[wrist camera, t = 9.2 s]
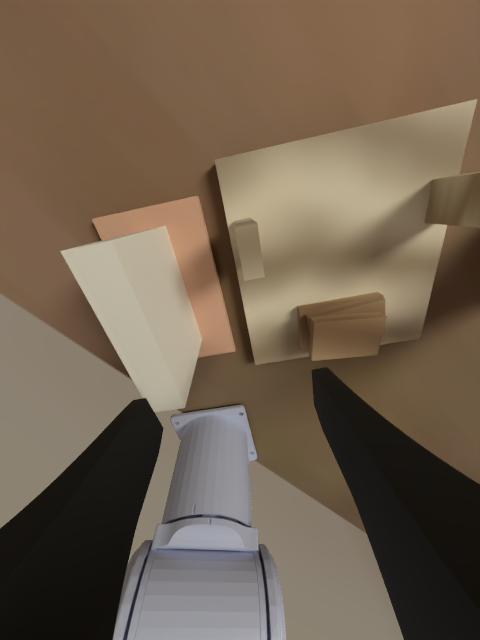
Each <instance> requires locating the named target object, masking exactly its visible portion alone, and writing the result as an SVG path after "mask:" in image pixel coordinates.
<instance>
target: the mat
mask: <svg viewBox="0 0 480 640" xmlns="http://www.w3.org/2000/svg"><path fill="white" fill-rule="evenodd" d="M92 221H93V223H94V225H95V227H96V229H97V232H98V234H99V236H100V238H101V240H106V239H110V238H114V237H118V236H122V235H126V234H130V233H134V232H138V231H143V230H148V229H152V228H157V227H162V226H166V228H167V232H168V235H169V238H170V241H171V244H172V247H173V250H174V253H175V256H176V260H177V263H178V266H179V269H180V272H181V275H182V278H183V281H184V284H185V288H186V291H187V294H188V297H189V300H190V303H191V306H192V309H193V312H194V316H195V319H196V322H197V325H198V328H199V331H200V334H201V337H202V342H201V346H200V350H199V354H198V357H204V356H210V355H217V354H223V353H229V352H235V344H234V340H233V336H232V332H231V327H230V323H229V319H228V315H227V311H226V307H225V303H224V298H223V294H222V290H221V286H220V282H219V278H218V274H217V269H216V265H215V261H214V257H213V253H212V249H211V245H210V240H209V236H208V232H207V228H206V224H205V220H204V216H203V211H202V207H201V203H200V199H199V196H194V197H190V198H185V199H181V200H176V201H172V202H167V203H162V204H158V205H153V206H149V207H144V208H140V209H135V210H131V211H126V212H122V213H117V214H112V215H108V216H103V217H99V218H94V219H92Z"/></svg>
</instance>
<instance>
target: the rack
mask: <svg viewBox="0 0 480 640" xmlns="http://www.w3.org/2000/svg"><path fill="white" fill-rule="evenodd" d="M476 102H477V99H476V100H471V101H467V102H463V103H458V104H454V105H450V106H445V107H441V108H437V109H432V110H428V111H424V112H419V113H415V114H411V115H406V116H402V117H398V118H393V119H389V120H385V121H380V122H376V123H372V124H367V125H363V126H359V127H354V128H350V129H346V130H341V131H337V132H333V133H328V134H324V135H320V136H315V137H311V138H307V139H302V140H298V141H294V142H289V143H285V144H281V145H276V146H272V147H268V148H263V149H259V150H255V151H250V152H246V153H242V154H237V155H233V156H229V157H225V158H220V159H216V160H215V164H216V169H217V174H218V179H219V184H220V189H221V194H222V200H223V205H224V210H225V215H226V220H227V225H228V230H229V235H230V240H231V245H232V250H233V255H234V260H235V265H236V270H237V275H238V280H239V285H240V290H241V295H242V301H243V306H244V311H245V316H246V321H247V326H248V331H249V336H250V341H251V346H252V351H253V356H254V361H255V365H258V364H264V363H271V362H277V361H283V360H289V359H296V358H302V357H308V356H309V353H306V354H302V352H301V350H300V342H299V328H298V315H297V306H300V305H306V304H312V303H317V302H323V301H329V300H334V299H340V298H346V297H351V296H357V295H363V294H368V293H374V292H379V293H380V294H382V295H384V298H385V315H386V316H387V318H386V323H385V342H381V343H380V345H383V344H390V343H396V342H402V341H408V340H415V339H420V337H421V333H422V329H423V325H424V321H425V316H426V312H427V308H428V304H429V300H430V295H431V291H432V287H433V283H434V278H435V274H436V270H437V266H438V262H439V257H440V253H441V249H442V245H443V241H444V236H445V232H446V228H447V225H454V226H465V227H477V228H480V172H474V173H467V174H460V175H459V173H460V169H461V165H462V161H463V157H464V152H465V148H466V144H467V140H468V135H469V131H470V127H471V123H472V119H473V114H474V110H475V106H476Z"/></svg>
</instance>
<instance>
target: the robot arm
mask: <svg viewBox="0 0 480 640" xmlns="http://www.w3.org/2000/svg"><path fill="white" fill-rule="evenodd" d="M312 380H313V395H314V406H315V409H316V412H317V415H318V418H319V421H320V424H321V426H322V429H323V432H324V434H325V436H326V438H327V440H328V443H329V445H330V447H331V449H332V452H333V454H334V456H335V458H336V460H337V463H338V465H339V467H340V469H341V471H342V474H343V476H344V478H345V480H346V482H347V485H348V487H349V489H350V491H351V494H352V496H353V498H354V501H355V503H356V506H357V508H358V511H359V514H360V516H361V519H362V522H363V525H364V527H365V530H366V533H367V535H368V538H369V541H370V543H371V546H372V549H373V552H374V555H375V558H376V560H377V563H378V565H379V569H380V572H381V574H382V577H383V580H384V583H385V586H386V588H387V591H388V594H389V597H390V600H391V603H392V606H393V609H394V611H395V615H396V617H397V620H398V623H399V626H400V629H401V632H402V635H403V638H404V640H480V484H478V483H476V482H475V481H473V480H472V479H470V478H468V477H467V476H465V475H464V474H462V473H461V472H459V471H458V470H456V469H455V468H453V467H452V466H450V465H449V464H447V463H446V462H444V461H443V460H441V459H440V458H438V457H437V456H435V455H434V454H433V453H431V452H430V451H428V450H427V449H425V448H424V447H422V446H421V445H420V444H418V443H417V442H415V441H414V440H413V439H411V438H410V437H409V436H407V435H406V434H405V433H403V432H402V431H401V430H399V429H398V428H397V427H395V426H394V425H393V424H392V423H390V422H389V421H388V420H386V419H385V418H384V417H383V416H381V415H380V414H379V413H378V412H377V411H375V410H374V409H373V408H372V407H371V406H369V405H368V404H367V403H366V402H365V401H364V400H362V399H361V398H360V397H359V396H358V395H357V394H355V393H354V392H353V391H352V390H351V389H350V388H349V387H348V386H347V385H345V384H344V383H343V382H342V381H341V380H340V379H339V378H338V377H337V376H336V375H335V374H334V373H333V372H332V371H331V370H330V369H328V368H327V367H326V368H320V369H315V370H312ZM171 422H172V424H173V426H174V428H175V430H176V432H177V434H178V436H179V438H180V440H181V443H180V447H179V451H178V456H177V460H176V464H175V468H174V473H173V477H172V481H171V485H170V489H169V494H168V498H167V502H166V507H165V511H164V515H163V519H162V524H157V527H156V530H155V535H154V538H153V540H145V541H144V542H143V543H142V545H141V546H140V547H139V548H138V549H137V551H136V552H135V553H134V554H133V555H132V557H131V559H130V562H129V564H128V560H129V555H130V551H131V546H132V542H133V537H134V533H135V530H136V526H137V522H138V519H139V515H140V512H141V509H142V506H143V503H144V499H145V496H146V493H147V490H148V486H149V483H150V480H151V477H152V474H153V470H154V467H155V464H156V461H157V457H158V454H159V449H160V444H161V439H162V432H163V427H162V425H161V423H160V421H159V420H158V418H157V416H156V414H155V413H154V411H153V409H152V407H151V406H150V404H149V402H148V400H147V399H146V398H143V399H138V400H133V401H132V402H131V403H130V404H129V405H128V406H127V407H126V408H125V409H124V410H123V411H122V412H121V413H120V414H119V415H118V416H117V417H116V418H115V419H114V420H113V421H112V422H111V423H110V425H109V426H108V427H107V428H106V429H105V430H104V431H103V432H102V433H101V434H100V435H99V436H98V437H97V438H96V439H95V440H94V441H93V442H92V443H91V444H90V446H89V447H88V448H87V449H86V450H85V451H84V452H83V453H82V454H81V455H80V456H79V457H78V458H77V459H76V460H75V461H74V462H73V463H72V464H71V465H70V466H69V467H68V468H67V469H66V470H65V471H64V472H63V473H62V474H61V475H60V476H59V477H58V478H57V479H56V480H54V481H53V482H52V483H51V484H50V485H49V486H48V487H47V488H46V489H45V490H44V491H43V492H42V493H41V494H40V495H38V496H37V497H36V498H35V499H34V500H33V501H32V502H31V503H29V505H27V506H26V507H25V508H24V509H23V510H22V511H20V512H19V513H18V514H17V515H16V516H15V517H14V518H12V519H11V520H10V521H9V522H8V523H7V524H5V525H4V526H3V527H2V528H1V529H0V640H286V630H285V616H284V606H283V598H282V591H281V585H280V580H279V575H278V571H277V567H276V564H275V561H274V559H273V557H272V556H271V554H270V553H269V550H268V549H267V547H266V546H265V545H263V544H258V531H257V529H256V528H252V510H251V489H250V469H249V461H252V460H256V459H257V454H256V450H255V446H254V442H253V438H252V434H251V430H250V426H249V423H248V419H247V415H246V411H245V407H244V406H243V405H235V406H228V407H221V408H215V409H208V410H201V411H194V412H187V413H181V414H174V415H172V416H171ZM127 564H128V566H127Z"/></svg>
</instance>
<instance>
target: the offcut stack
mask: <svg viewBox="0 0 480 640" xmlns="http://www.w3.org/2000/svg"><path fill="white" fill-rule="evenodd" d="M297 315H298V328H299V342H300V350H301V352H302V354H306V353H309V356H310V359H311V361H318V360H329V359H340V358H351V357H362V356H373V355H378V351H379V347H380V343H381V342H385V323H386V318H387V316H386V315H385V298H384V295H382V294H380V293H379V292H374V293H368V294H363V295H357V296H351V297H346V298H340V299H334V300H329V301H323V302H317V303H312V304H306V305H300V306H297Z"/></svg>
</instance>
